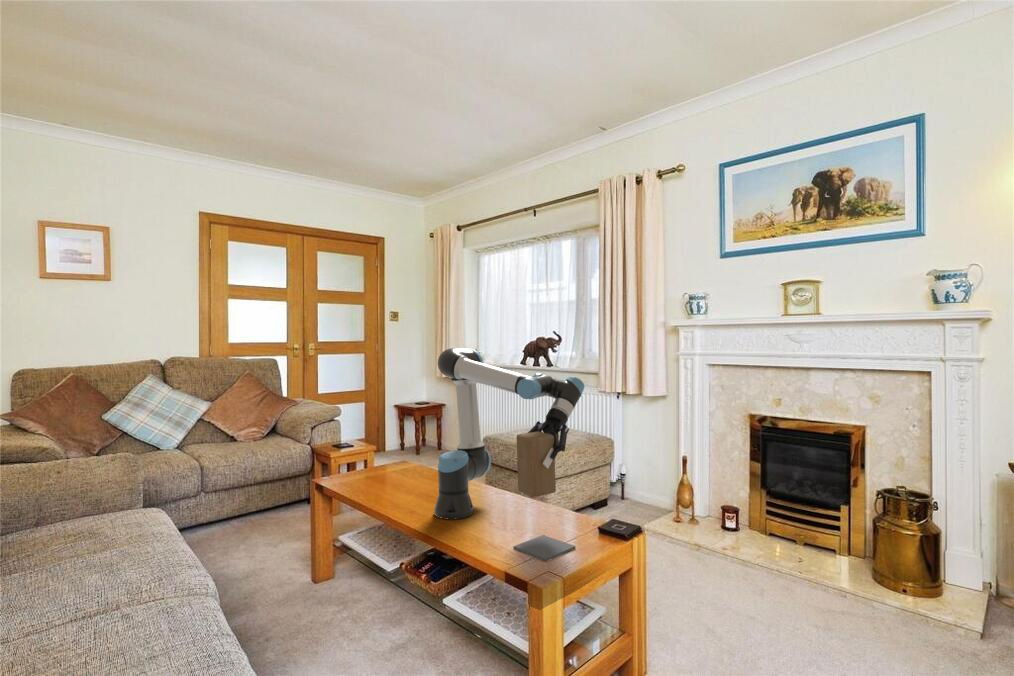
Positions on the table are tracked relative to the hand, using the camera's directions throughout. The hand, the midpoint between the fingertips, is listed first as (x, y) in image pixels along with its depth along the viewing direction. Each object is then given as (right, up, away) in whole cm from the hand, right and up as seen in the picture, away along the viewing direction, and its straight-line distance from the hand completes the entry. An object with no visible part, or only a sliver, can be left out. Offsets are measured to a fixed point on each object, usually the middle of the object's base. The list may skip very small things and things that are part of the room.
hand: (531, 463), depth 175 cm
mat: (+3, -24, -12) cm, 27 cm away
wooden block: (+2, -10, +1) cm, 11 cm away
